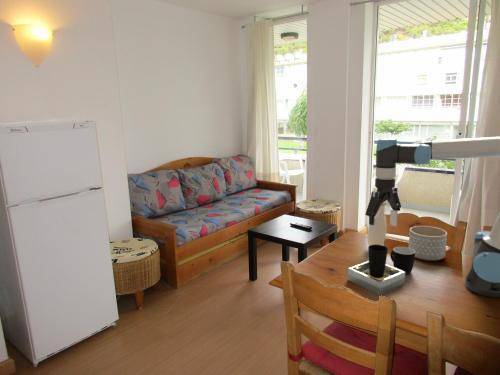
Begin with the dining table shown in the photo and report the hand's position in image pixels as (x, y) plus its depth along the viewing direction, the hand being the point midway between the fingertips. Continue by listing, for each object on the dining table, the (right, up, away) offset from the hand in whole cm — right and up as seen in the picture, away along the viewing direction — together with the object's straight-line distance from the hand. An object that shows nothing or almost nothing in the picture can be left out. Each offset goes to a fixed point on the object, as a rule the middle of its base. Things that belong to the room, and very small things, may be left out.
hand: (383, 228), depth 150 cm
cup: (-2, -20, +3) cm, 20 cm away
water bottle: (+10, -15, +38) cm, 42 cm away
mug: (+13, -20, +14) cm, 28 cm away
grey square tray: (-2, -23, +4) cm, 23 cm away
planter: (+32, -17, +30) cm, 47 cm away
